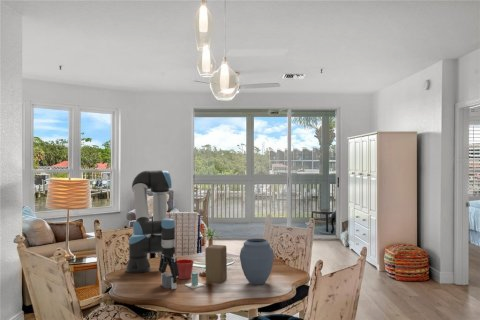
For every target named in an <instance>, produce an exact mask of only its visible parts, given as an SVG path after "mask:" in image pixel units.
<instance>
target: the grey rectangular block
mask: <svg viewBox="0 0 480 320" xmlns="http://www.w3.org/2000/svg"><path fill="white" fill-rule="evenodd" d="M171 277H172V274H171V272H169V273H166V274H164V275H162V285H161V286H162V288H164V289H172V286H171Z"/></svg>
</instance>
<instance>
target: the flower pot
mask: <svg viewBox="0 0 480 320" xmlns="http://www.w3.org/2000/svg"><path fill="white" fill-rule="evenodd" d="M177 266H178V272H179V276H177V278H178V279H180V280H186V279H187V280H188V279H190V278H192V277H191V273H193V266H194V260H192V259H189V258H188V259H186V258H185V259H183V258H182V259H177Z"/></svg>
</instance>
